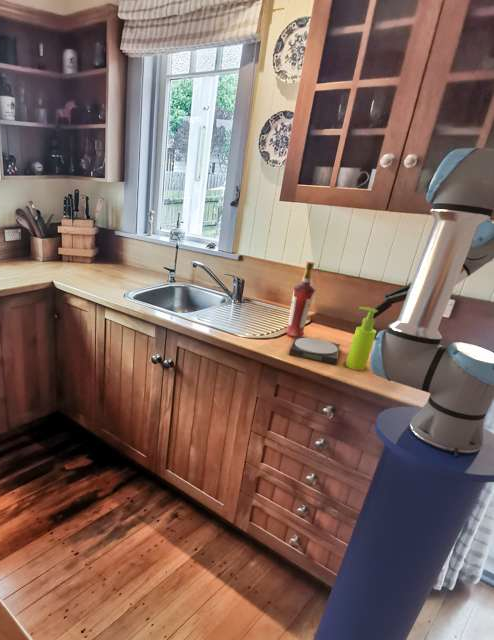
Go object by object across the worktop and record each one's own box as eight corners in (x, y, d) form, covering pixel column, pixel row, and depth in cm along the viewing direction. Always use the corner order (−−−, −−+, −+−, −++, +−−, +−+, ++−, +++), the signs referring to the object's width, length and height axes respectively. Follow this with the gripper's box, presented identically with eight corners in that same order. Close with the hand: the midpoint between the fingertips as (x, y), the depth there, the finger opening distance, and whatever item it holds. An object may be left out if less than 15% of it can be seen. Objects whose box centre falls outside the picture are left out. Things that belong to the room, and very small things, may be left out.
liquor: (285, 330, 182) (301, 259, 170) (305, 334, 179) (322, 262, 167) (282, 336, 177) (298, 262, 164) (302, 340, 174) (320, 266, 161)
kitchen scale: (335, 365, 155) (337, 357, 154) (288, 355, 161) (290, 347, 159) (338, 349, 167) (340, 342, 166) (295, 340, 173) (297, 334, 172)
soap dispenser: (347, 360, 159) (364, 304, 150) (367, 367, 154) (385, 309, 145) (339, 364, 155) (355, 307, 147) (359, 371, 151) (377, 313, 142)
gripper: (479, 298, 133) (411, 345, 139) (424, 276, 155) (368, 317, 161) (468, 280, 130) (400, 328, 136) (414, 259, 152) (357, 302, 158)
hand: (382, 322), depth 148 cm, fingers open, 13 cm apart
